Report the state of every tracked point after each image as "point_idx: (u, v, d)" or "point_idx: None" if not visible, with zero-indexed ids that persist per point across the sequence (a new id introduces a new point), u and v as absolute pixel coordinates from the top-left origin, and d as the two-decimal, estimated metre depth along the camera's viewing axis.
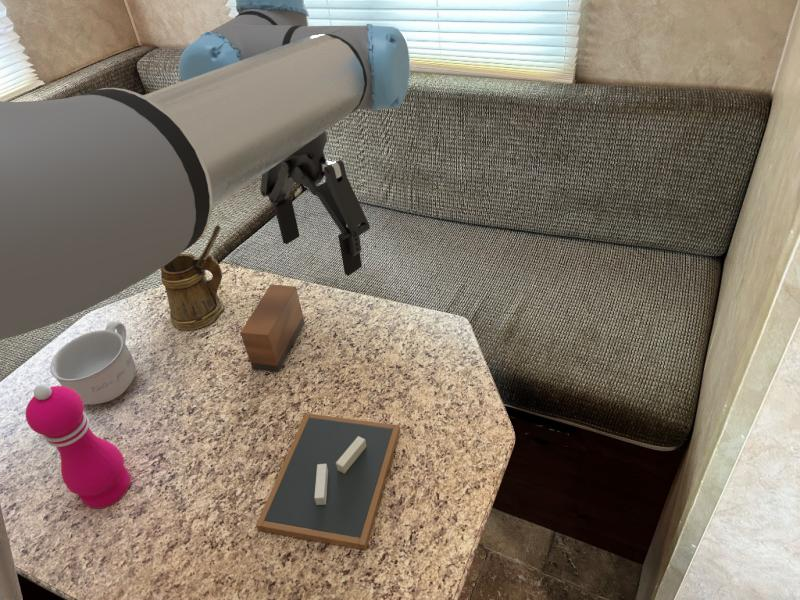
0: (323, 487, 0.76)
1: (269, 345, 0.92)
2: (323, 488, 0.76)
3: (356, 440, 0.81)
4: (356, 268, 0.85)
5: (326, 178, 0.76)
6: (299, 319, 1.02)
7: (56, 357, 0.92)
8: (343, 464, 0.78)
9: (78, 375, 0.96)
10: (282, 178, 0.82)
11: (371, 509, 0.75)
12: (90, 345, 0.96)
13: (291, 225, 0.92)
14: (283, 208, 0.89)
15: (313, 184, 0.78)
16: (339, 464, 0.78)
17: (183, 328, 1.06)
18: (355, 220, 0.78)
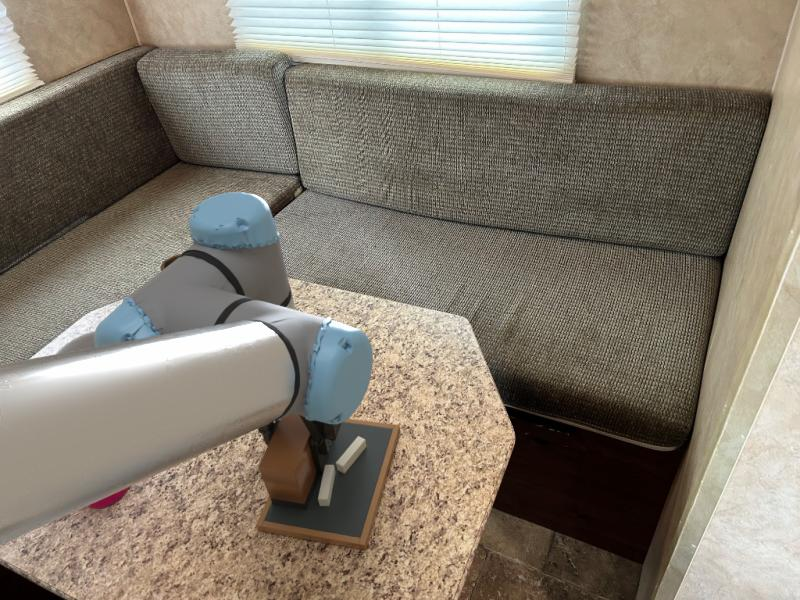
0: (328, 488, 0.75)
1: (296, 482, 0.71)
2: (328, 489, 0.75)
3: (356, 440, 0.81)
4: (326, 462, 0.79)
5: None
6: None
7: None
8: (343, 464, 0.78)
9: None
10: None
11: (371, 509, 0.75)
12: (90, 345, 0.96)
13: None
14: None
15: None
16: (339, 464, 0.78)
17: None
18: (335, 426, 0.72)
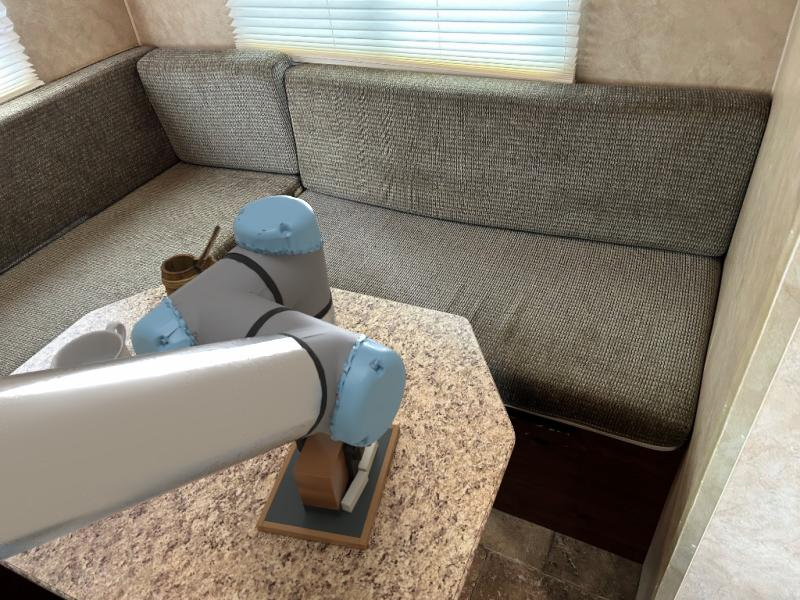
0: (353, 495, 0.74)
1: (331, 488, 0.70)
2: (353, 496, 0.74)
3: None
4: None
5: None
6: None
7: (56, 357, 0.92)
8: (366, 467, 0.78)
9: None
10: None
11: (371, 509, 0.75)
12: (90, 345, 0.96)
13: None
14: None
15: None
16: (361, 468, 0.77)
17: None
18: None
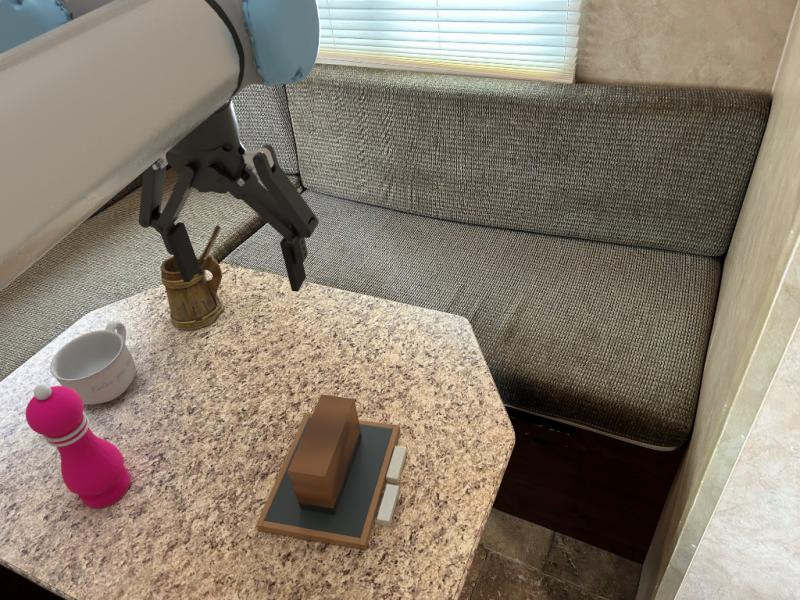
0: (392, 515, 0.75)
1: (326, 487, 0.71)
2: (392, 516, 0.75)
3: (405, 453, 0.81)
4: (302, 280, 0.69)
5: (256, 171, 0.59)
6: (356, 436, 0.81)
7: (56, 357, 0.92)
8: (398, 482, 0.79)
9: (78, 375, 0.96)
10: (181, 191, 0.62)
11: (371, 509, 0.75)
12: (90, 345, 0.96)
13: (190, 256, 0.71)
14: (177, 235, 0.68)
15: (236, 185, 0.60)
16: (397, 481, 0.78)
17: (183, 328, 1.06)
18: (303, 216, 0.62)
